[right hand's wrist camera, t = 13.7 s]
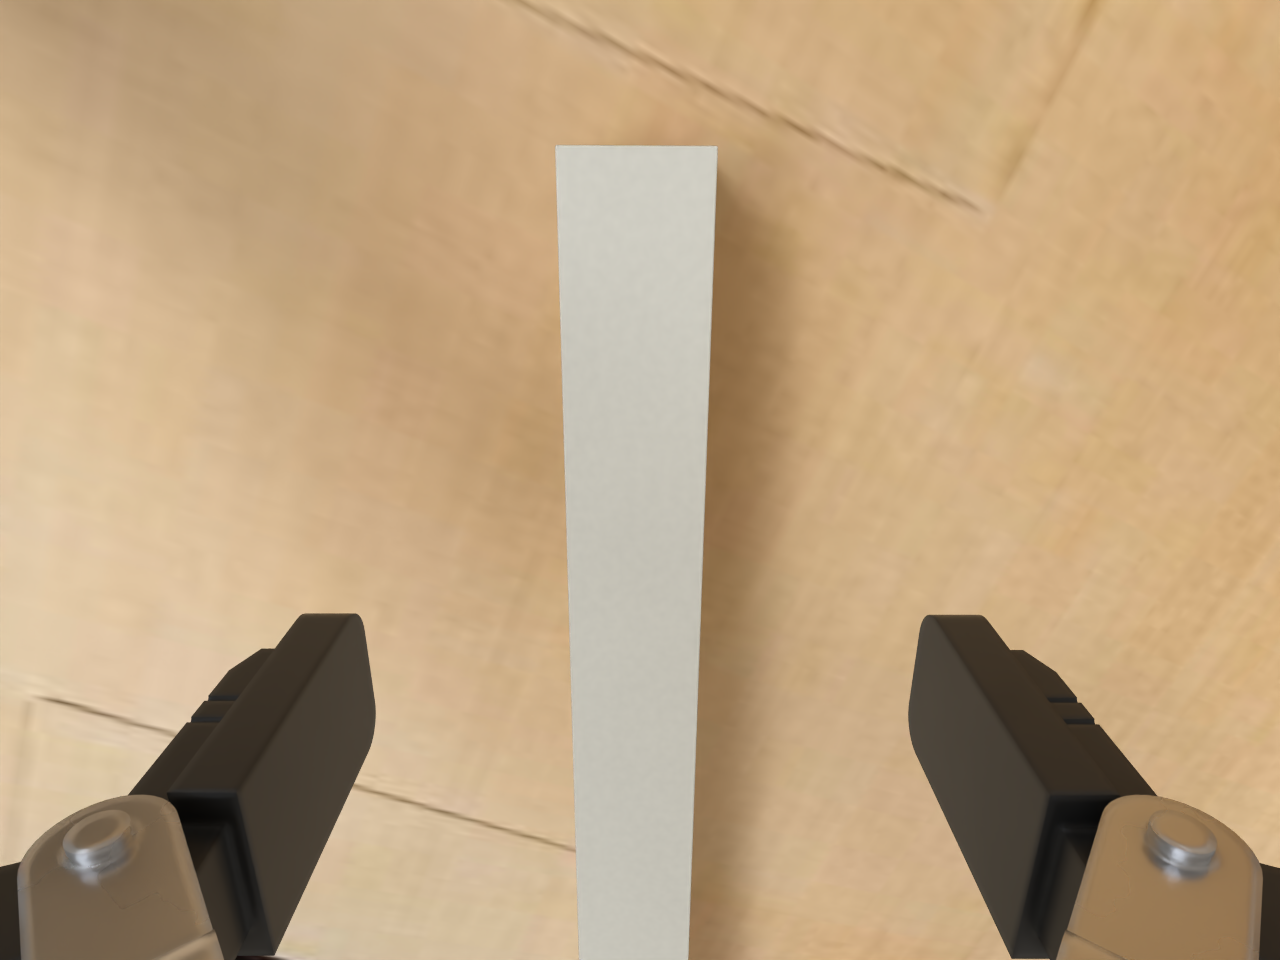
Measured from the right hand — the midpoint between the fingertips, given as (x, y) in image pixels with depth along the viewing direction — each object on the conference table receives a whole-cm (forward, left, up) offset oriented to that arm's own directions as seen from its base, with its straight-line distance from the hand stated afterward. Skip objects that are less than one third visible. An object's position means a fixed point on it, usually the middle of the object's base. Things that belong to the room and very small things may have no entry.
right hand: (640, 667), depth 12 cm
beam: (+25, 0, -23) cm, 34 cm away
